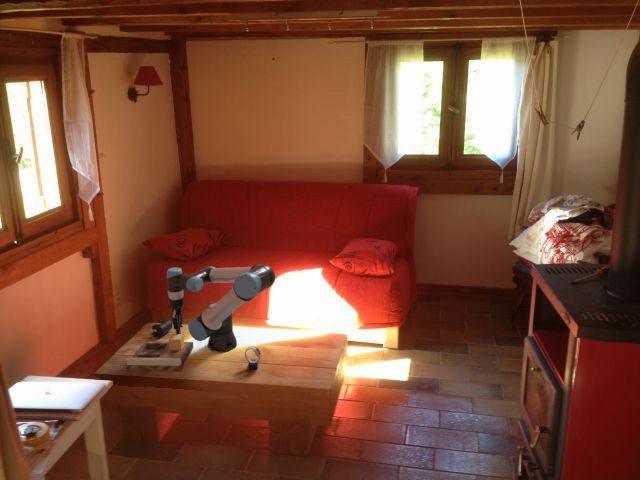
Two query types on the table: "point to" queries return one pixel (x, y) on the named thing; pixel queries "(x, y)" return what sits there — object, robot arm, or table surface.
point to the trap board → (159, 357)
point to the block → (176, 341)
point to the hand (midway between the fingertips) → (179, 339)
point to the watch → (253, 363)
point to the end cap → (162, 328)
